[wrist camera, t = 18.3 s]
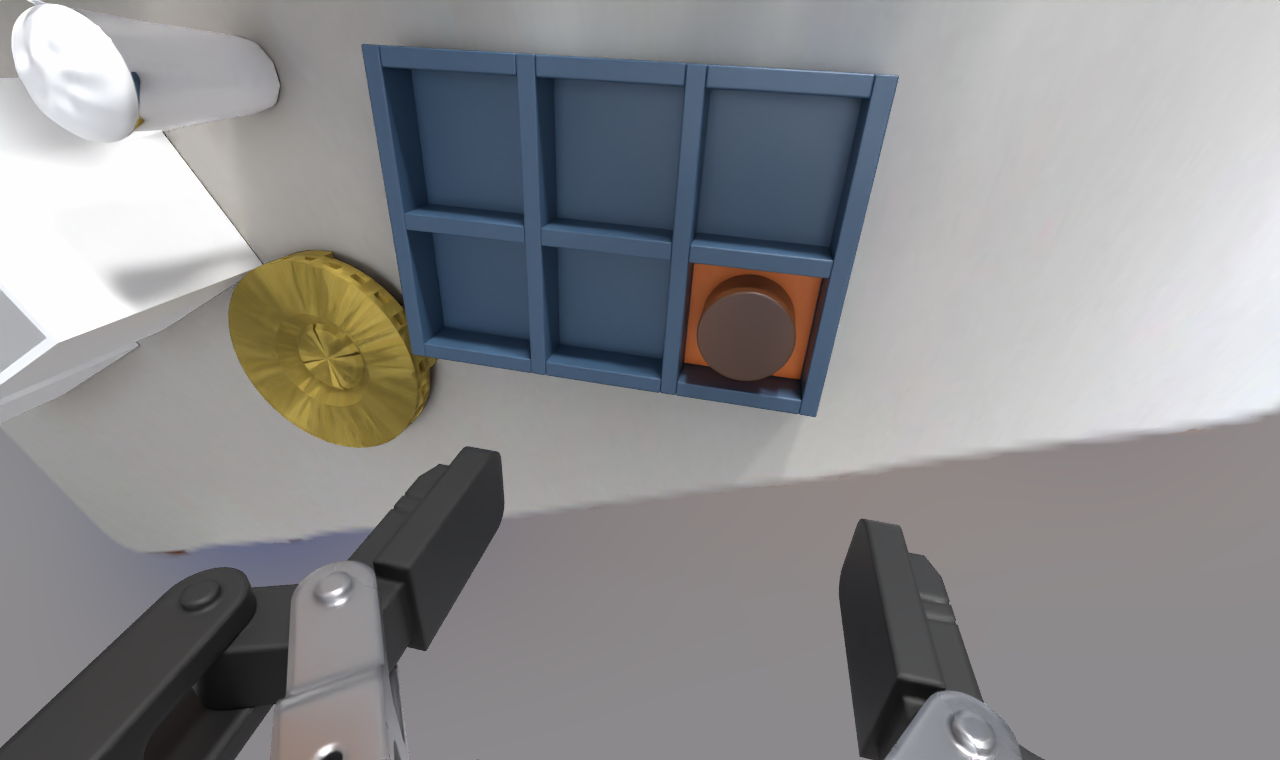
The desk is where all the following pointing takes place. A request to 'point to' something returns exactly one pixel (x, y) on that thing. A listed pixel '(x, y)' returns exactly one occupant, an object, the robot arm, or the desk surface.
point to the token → (747, 328)
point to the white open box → (96, 250)
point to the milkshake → (135, 73)
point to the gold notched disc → (328, 349)
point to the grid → (620, 209)
